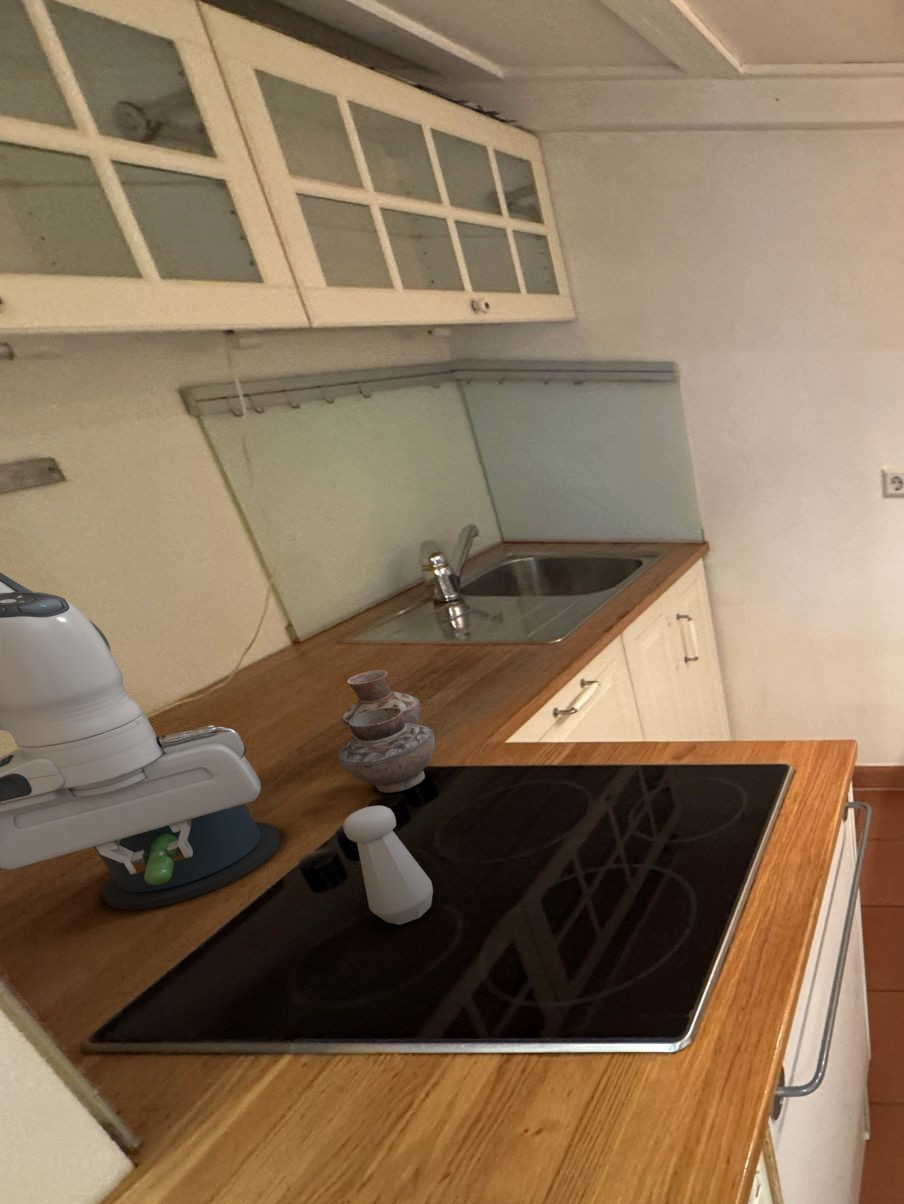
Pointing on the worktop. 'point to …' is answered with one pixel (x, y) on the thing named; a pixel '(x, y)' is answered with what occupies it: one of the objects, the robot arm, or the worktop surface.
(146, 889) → the pot
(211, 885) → the trivet
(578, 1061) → the worktop surface
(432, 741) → the pottery
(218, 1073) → the worktop surface
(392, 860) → the salt shaker
